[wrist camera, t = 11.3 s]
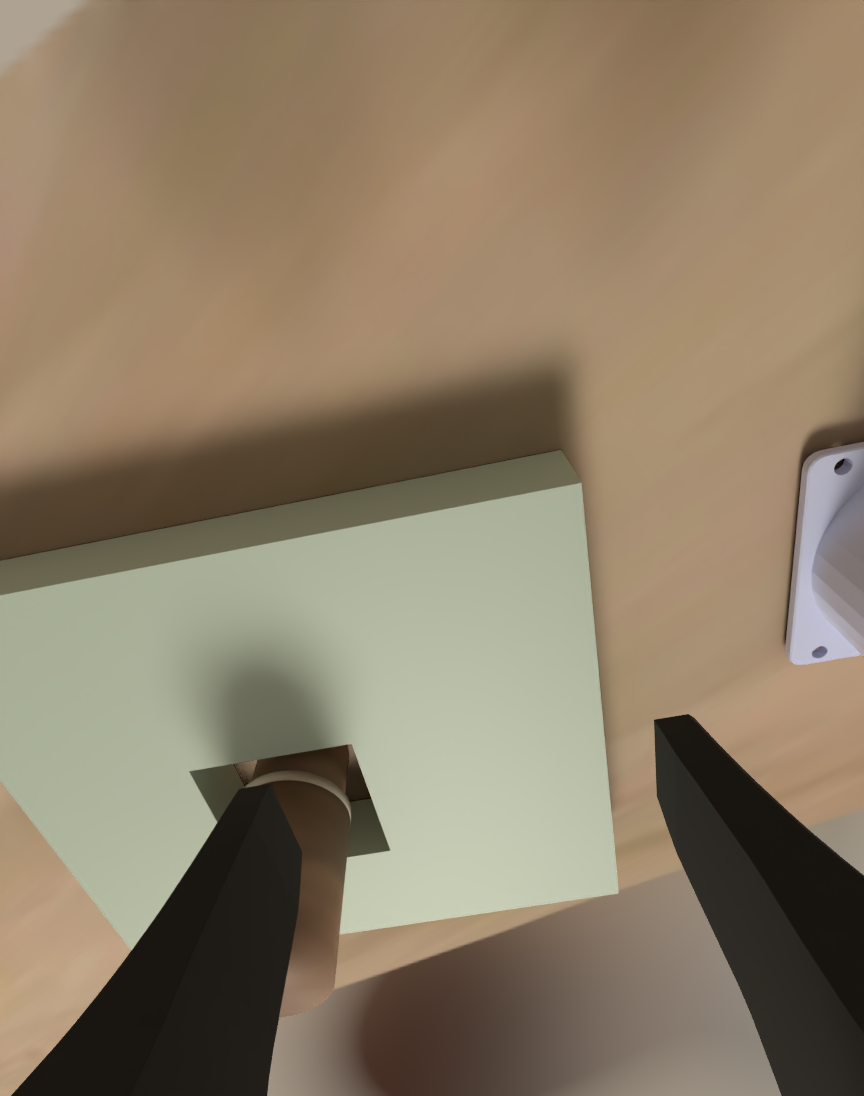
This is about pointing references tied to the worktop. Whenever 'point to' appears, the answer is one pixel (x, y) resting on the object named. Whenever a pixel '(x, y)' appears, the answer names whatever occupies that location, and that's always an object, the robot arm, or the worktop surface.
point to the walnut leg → (313, 864)
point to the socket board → (324, 692)
